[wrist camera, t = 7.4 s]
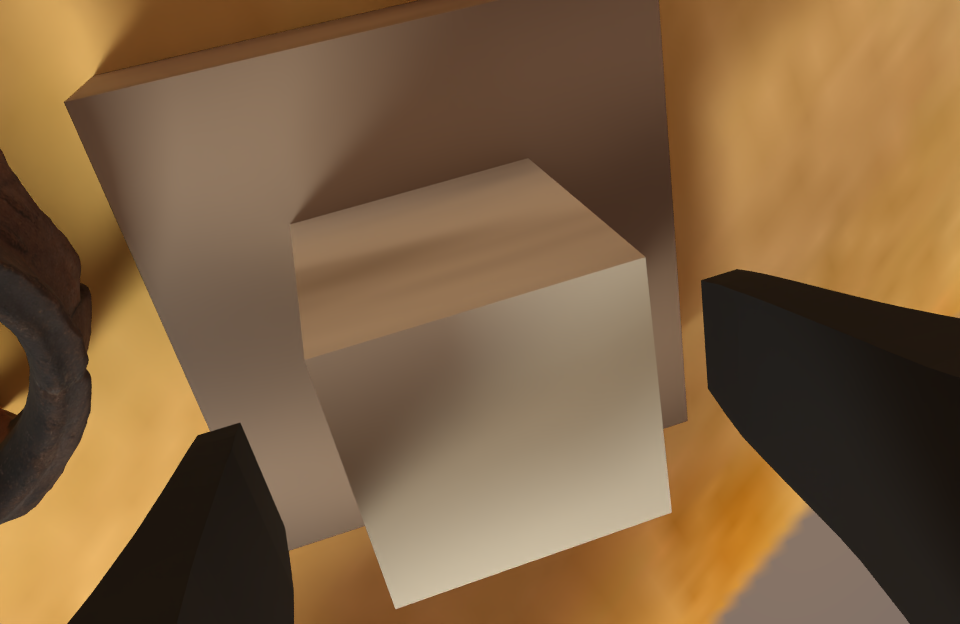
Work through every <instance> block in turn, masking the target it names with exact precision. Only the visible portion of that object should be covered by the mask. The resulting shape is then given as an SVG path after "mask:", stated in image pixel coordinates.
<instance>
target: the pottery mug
mask: <svg viewBox="0 0 960 624" xmlns="http://www.w3.org/2000/svg"><path fill="white" fill-rule="evenodd" d="M80 275H81V263H80V259H79V256H78V254H77V253H76V252H75V250H74V248H73V247H72V245H71V244H70V242H69V241H68V239H67V238H66V237H65V235H64V234H63V233H62V232H61V231H60V230H59V229H58V228H57V227H56V226H55V225H54V224H53V223H52V221H51V219H50V218H49V217H48V216H46V215H45V214H44V213H43V212H42V211H41V210H40V209H39V207H38V206H37V204H36V203H35V202H34V201H33V199H32V198H31V196H30V195H29V194H28V192H27V191H26V189H25V188H24V187H23V185H22V184H21V182H20V181H19V179H18V177H17V176H16V175H15V174H14V172H13V171H12V170H11V168H10V167H9V165H8V164H7V161H6V159H5V156H4V154H3V152H2V151H1V149H0V322H1V323H2V324H3V325H5V326H6V327H7V328H8V329H10V330H11V331H12V332H13V333H14V334H15V336H16V337H17V338H18V340H19V342H20V343H21V345H22V347H23V348H24V350H25V352H26V355H27V359H28V363H29V366H30V376H29V392H28V396H27V401H26V405H25V407H24V409H23V410H22V411H21V412H20V413H19V414H18V415H16V414H14V413H11V412H9V411H6V410H3V409H1V408H0V524H2V523H5V522H7V521H10V520H13V519H16V518H18V517H21V516H23V515H25V514H27V513H28V512H29V511H30V510H32V509H33V508H34V507H36V506H37V504H38V503H39V502H40V501H41V500H42V498H43V497H44V496H45V494H46V493H47V492H48V491H49V490H50V489H51V488H52V487H53V485H54V484H55V482H56V481H57V480H58V478H59V477H60V475H61V474H62V473H63V471H64V468H65V466H66V464H67V462H68V460H69V459H70V457H71V456H72V454H73V452H74V451H75V449H76V448H77V446H78V444H79V442H80V440H81V438H82V435H83V432H84V429H85V427H86V424H87V419H88V417H89V414H90V411H91V394H92V393H91V388H92V384H91V376H90V373H89V372H88V371H87V369H86V367H87V364H88V361H89V359H88V355H87V350H88V346H89V341H90V335H91V319H92V302H91V293H90V291H89V288H88V287H87V286H86V285H84V284H82V283H80Z"/></svg>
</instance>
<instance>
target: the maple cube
mask: <svg viewBox="0 0 960 624" xmlns="http://www.w3.org/2000/svg"><path fill="white" fill-rule="evenodd" d="M290 229H291V239H292V248H293V257H294V267H295V276H296V285H297V295H298V304H299V314H300V323H301V332H302V342H303V351H304V360H305V363H306V366H307V368H308V371H309V374H310V377H311V379H312V382H313V385H314V387H315V390H316V393H317V396H318V398H319V401H320V404H321V407H322V409H323V412H324V415H325V418H326V420H327V423H328V426H329V429H330V431H331V434H332V437H333V439H334V442H335V445H336V448H337V450H338V453H339V456H340V459H341V461H342V464H343V467H344V470H345V472H346V475H347V478H348V481H349V483H350V486H351V489H352V491H353V494H354V497H355V500H356V502H357V505H358V508H359V511H360V513H361V516H362V519H363V522H364V524H365V527H366V530H367V533H368V535H369V538H370V541H371V543H372V546H373V549H374V552H375V554H376V557H377V560H378V563H379V565H380V568H381V571H382V574H383V576H384V579H385V582H386V585H387V587H388V590H389V593H390V595H391V598H392V601H393V604H394V606H395V609H398V608H400V607H403V606H406V605H409V604H412V603H415V602H418V601H420V600H423V599H426V598H429V597H432V596H435V595H438V594H440V593H443V592H446V591H449V590H452V589H455V588H457V587H460V586H463V585H466V584H469V583H472V582H475V581H477V580H480V579H483V578H486V577H489V576H492V575H495V574H497V573H500V572H503V571H506V570H509V569H512V568H515V567H517V566H520V565H523V564H526V563H529V562H532V561H535V560H537V559H540V558H543V557H546V556H549V555H552V554H555V553H557V552H560V551H563V550H566V549H569V548H572V547H575V546H577V545H580V544H583V543H586V542H589V541H592V540H595V539H597V538H600V537H603V536H606V535H609V534H612V533H615V532H617V531H620V530H623V529H626V528H629V527H632V526H635V525H637V524H640V523H643V522H646V521H649V520H652V519H655V518H657V517H660V516H663V515H666V514H669V513H672V510H671V500H670V491H669V481H668V471H667V462H666V452H665V442H664V432H663V423H662V413H661V403H660V393H659V384H658V374H657V364H656V355H655V345H654V335H653V325H652V316H651V306H650V296H649V286H648V277H647V267H646V257H645V256H644V255H642V254H641V253H640V252H639V251H638V250H636V249H635V248H634V247H633V246H632V245H631V244H629V243H628V242H627V241H626V240H625V239H623V238H622V237H621V236H620V235H619V234H618V233H616V232H615V231H614V230H613V229H612V228H610V227H609V226H608V225H607V224H606V223H604V222H603V221H602V220H601V219H600V218H599V217H597V216H596V215H595V214H594V213H593V212H591V211H590V210H589V209H588V208H587V207H586V206H584V205H583V204H582V203H581V202H580V201H578V200H577V199H576V198H575V197H574V196H572V195H571V194H570V193H569V192H568V191H567V190H565V189H564V188H563V187H562V186H561V185H559V184H558V183H557V182H556V181H555V180H554V179H552V178H551V177H550V176H549V175H548V174H546V173H545V172H544V171H543V170H542V169H540V168H539V167H538V166H537V165H536V164H535V163H533V162H532V161H531V160H530V159H529V158H527V159H523V160H520V161H516V162H513V163H509V164H505V165H502V166H498V167H495V168H491V169H487V170H484V171H480V172H477V173H473V174H469V175H466V176H462V177H459V178H455V179H451V180H448V181H444V182H441V183H437V184H433V185H430V186H426V187H423V188H419V189H415V190H412V191H408V192H405V193H401V194H398V195H394V196H390V197H387V198H383V199H380V200H376V201H372V202H369V203H365V204H362V205H358V206H354V207H351V208H347V209H344V210H340V211H336V212H333V213H329V214H326V215H322V216H319V217H315V218H311V219H308V220H304V221H301V222H297V223H293V224H290Z"/></svg>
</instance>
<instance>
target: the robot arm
mask: <svg viewBox="0 0 960 624" xmlns="http://www.w3.org/2000/svg"><path fill="white" fill-rule="evenodd" d="M701 287H702V303H703V319H704V334H705V350H706V366H707V382H708V389H709V391H710V392H711V394H712V395H713V396H714V398H715V399H716V401H717V402H718V404H719V405H720V407H721V408H722V409H723V411H724V412H725V414H726V415H727V417H728V418H729V419H730V421H731V422H732V423H733V425H734V426H735V427H736V429H737V430H738V431H739V433H740V434H741V435H742V437H743V438H744V439H745V440H746V441H747V442H748V443H749V444H750V445H751V446H752V447H753V448H754V449H755V450H756V451H757V453H758V454H759V455H760V456H761V457H762V458H763V459H764V460H765V461H766V462H767V463H768V464H769V465H770V466H771V467H772V468H773V469H774V470H775V471H776V472H777V473H778V474H779V476H780V477H781V478H782V479H783V480H784V481H785V482H786V483H787V484H788V485H789V486H790V487H791V488H792V489H793V490H794V491H795V492H796V493H797V494H798V495H799V496H800V497H801V498H802V499H803V500H804V501H805V502H806V503H807V504H808V505H809V506H810V507H811V508H812V509H813V510H814V511H815V512H816V513H817V514H818V515H819V517H821V518H822V520H823V521H824V522H825V523H826V524H827V525H828V526H829V527H830V528H831V529H832V530H833V531H834V532H835V533H836V534H837V535H838V536H839V537H840V538H841V539H842V540H843V542H844V543H845V544H846V545H847V546H848V547H849V548H850V549H851V551H852V552H853V553H854V554H855V555H856V556H857V557H858V558H859V559H860V560H861V562H862V563H863V564H864V566H865V567H866V568H867V569H868V571H869V572H870V573H871V575H873V577H874V578H875V580H876V581H877V582H878V583H879V585H880V586H881V587H882V588H883V590H884V591H885V592H886V593H887V595H888V596H889V597H890V599H891V600H892V601H893V602H894V604H895V605H896V606H897V608H898V609H899V610H900V611H901V613H902V614H903V615H904V616H905V618H906V619H907V621H908V622H909V623H910V624H960V318H955V317H949V316H944V315H939V314H934V313H929V312H924V311H919V310H914V309H909V308H904V307H899V306H895V305H890V304H886V303H881V302H877V301H872V300H868V299H864V298H860V297H856V296H852V295H848V294H844V293H839V292H836V291H832V290H828V289H824V288H820V287H816V286H812V285H808V284H804V283H800V282H796V281H792V280H788V279H784V278H780V277H775V276H771V275H767V274H762V273H757V272H752V271H745V270H738V269H736V270H733V271H730V272H727V273H723V274H720V275H717V276H714V277H710V278H707V279H704V280H701ZM67 624H294V589H293V581H292V573H291V565H290V557H289V550H288V543H287V537H286V530H285V526H284V524H283V521H282V519H281V517H280V514H279V512H278V510H277V507H276V505H275V503H274V500H273V498H272V495H271V493H270V491H269V488H268V486H267V484H266V481H265V479H264V477H263V474H262V472H261V470H260V467H259V465H258V463H257V460H256V458H255V456H254V453H253V451H252V449H251V446H250V444H249V442H248V439H247V437H246V434H245V432H244V430H243V427H242V425H241V423H236V424H233V425H230V426H227V427H223V428H220V429H217V430H214V431H210V432H207V433H204V434H201V435H198V436H197V437H196V439H195V440H194V442H193V443H192V445H191V446H190V448H189V449H188V451H187V453H186V454H185V456H184V457H183V459H182V461H181V462H180V464H179V466H178V467H177V469H176V470H175V472H174V474H173V475H172V477H171V478H170V480H169V482H168V483H167V485H166V486H165V488H164V490H163V491H162V493H161V494H160V496H159V497H158V499H157V501H156V502H155V504H154V505H153V507H152V508H151V510H150V511H149V513H148V514H147V516H146V518H145V519H144V521H143V522H142V524H141V525H140V527H139V528H138V530H137V531H136V533H135V534H134V536H133V537H132V539H131V540H130V541H129V543H128V544H127V545H126V547H125V548H124V550H123V551H122V552H121V554H120V555H119V556H118V558H117V559H116V561H115V562H114V563H113V565H112V566H111V568H110V569H109V570H108V572H107V573H106V574H105V576H104V577H103V579H102V580H101V581H100V583H99V584H98V585H97V587H96V588H95V590H94V591H93V592H92V594H91V595H90V596H89V597H88V599H87V600H86V601H85V602H84V604H83V605H82V606H81V607H80V609H79V610H78V611H77V612H76V614H75V615H74V616H73V617H72V618H71V620H70V621H69V622H68V623H67Z"/></svg>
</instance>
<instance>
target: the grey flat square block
mask: <svg viewBox="0 0 960 624" xmlns="http://www.w3.org/2000/svg"><path fill="white" fill-rule="evenodd" d="M64 103H65V106H66V108H67V110H68V112H69V115H70V117H71V119H72V121H73V124H74V126H75V128H76V130H77V133H78V135H79V137H80V139H81V142H82V144H83V146H84V148H85V151H86V153H87V155H88V157H89V160H90V162H91V164H92V166H93V169H94V171H95V173H96V175H97V178H98V180H99V182H100V184H101V187H102V189H103V191H104V193H105V196H106V198H107V200H108V202H109V205H110V207H111V209H112V211H113V214H114V216H115V218H116V220H117V223H118V225H119V227H120V229H121V232H122V234H123V236H124V238H125V241H126V243H127V245H128V247H129V250H130V252H131V254H132V256H133V259H134V261H135V263H136V265H137V268H138V270H139V272H140V274H141V277H142V279H143V281H144V283H145V286H146V288H147V290H148V292H149V295H150V297H151V299H152V301H153V304H154V306H155V308H156V310H157V313H158V315H159V317H160V319H161V322H162V324H163V326H164V328H165V331H166V333H167V335H168V337H169V340H170V342H171V344H172V346H173V349H174V351H175V353H176V355H177V358H178V360H179V362H180V364H181V367H182V369H183V371H184V373H185V376H186V378H187V380H188V382H189V385H190V387H191V389H192V391H193V394H194V396H195V398H196V400H197V403H198V405H199V407H200V409H201V412H202V414H203V416H204V418H205V421H206V423H207V425H208V428H209V430H210V431H214V430H217V429H220V428H223V427H227V426H230V425H233V424H236V423H241V425H242V427H243V430H244V432H245V434H246V437H247V439H248V442H249V444H250V446H251V449H252V451H253V453H254V456H255V458H256V460H257V463H258V465H259V467H260V470H261V472H262V474H263V477H264V479H265V481H266V484H267V486H268V488H269V491H270V493H271V495H272V498H273V500H274V503H275V505H276V507H277V510H278V512H279V514H280V517H281V519H282V521H283V524H284V526H285V530H286V537H287V543H288V550H289V551H290V550H293V549H296V548H299V547H302V546H305V545H308V544H311V543H314V542H317V541H320V540H323V539H326V538H329V537H333V536H336V535H339V534H342V533H345V532H348V531H351V530H354V529H357V528H360V527H363V526H365V524H364V522H363V519H362V516H361V513H360V511H359V508H358V505H357V502H356V500H355V497H354V494H353V491H352V489H351V486H350V483H349V481H348V478H347V475H346V472H345V470H344V467H343V464H342V461H341V459H340V456H339V453H338V450H337V448H336V445H335V442H334V439H333V437H332V434H331V431H330V429H329V426H328V423H327V420H326V418H325V415H324V412H323V409H322V407H321V404H320V401H319V398H318V396H317V393H316V390H315V387H314V385H313V382H312V379H311V377H310V374H309V371H308V368H307V366H306V363H305V360H304V351H303V342H302V332H301V323H300V314H299V304H298V295H297V285H296V276H295V267H294V257H293V248H292V239H291V229H290V224H293V223H297V222H301V221H304V220H308V219H311V218H315V217H319V216H322V215H326V214H329V213H333V212H336V211H340V210H344V209H347V208H351V207H354V206H358V205H362V204H365V203H369V202H372V201H376V200H380V199H383V198H387V197H390V196H394V195H398V194H401V193H405V192H408V191H412V190H415V189H419V188H423V187H426V186H430V185H433V184H437V183H441V182H444V181H448V180H451V179H455V178H459V177H462V176H466V175H469V174H473V173H477V172H480V171H484V170H487V169H491V168H495V167H498V166H502V165H505V164H509V163H513V162H516V161H520V160H523V159H527V158H529V159H530V160H531V161H532V162H533V163H535V164H536V165H537V166H538V167H539V168H540V169H542V170H543V171H544V172H545V173H546V174H548V175H549V176H550V177H551V178H552V179H554V180H555V181H556V182H557V183H558V184H559V185H561V186H562V187H563V188H564V189H565V190H567V191H568V192H569V193H570V194H571V195H572V196H574V197H575V198H576V199H577V200H578V201H580V202H581V203H582V204H583V205H584V206H586V207H587V208H588V209H589V210H590V211H591V212H593V213H594V214H595V215H596V216H597V217H599V218H600V219H601V220H602V221H603V222H604V223H606V224H607V225H608V226H609V227H610V228H612V229H613V230H614V231H615V232H616V233H618V234H619V235H620V236H621V237H622V238H623V239H625V240H626V241H627V242H628V243H629V244H631V245H632V246H633V247H634V248H635V249H636V250H638V251H639V252H640V253H641V254H642V255H644V256H645V257H646V267H647V277H648V286H649V296H650V306H651V316H652V325H653V335H654V345H655V355H656V364H657V374H658V384H659V393H660V403H661V413H662V423H663V429H664V428H667V427H670V426H673V425H676V424H680V423H683V422H686V421H688V420H687V405H686V391H685V376H684V361H683V347H682V332H681V318H680V303H679V288H678V274H677V259H676V245H675V230H674V215H673V201H672V186H671V172H670V157H669V142H668V128H667V113H666V99H665V84H664V69H663V55H662V40H661V26H660V11H659V0H418V1H413V2H409V3H405V4H401V5H396V6H392V7H388V8H383V9H379V10H375V11H370V12H366V13H362V14H357V15H353V16H349V17H344V18H340V19H336V20H332V21H327V22H323V23H319V24H314V25H310V26H306V27H301V28H297V29H293V30H288V31H284V32H280V33H275V34H271V35H267V36H262V37H258V38H254V39H250V40H245V41H241V42H237V43H232V44H228V45H224V46H219V47H215V48H211V49H206V50H202V51H198V52H193V53H189V54H185V55H181V56H176V57H172V58H168V59H163V60H159V61H155V62H150V63H146V64H142V65H137V66H133V67H129V68H124V69H120V70H116V71H112V72H107V73H103V74H99V75H94V76H93V77H92V78H90V79H89V80H88V81H87V82H86V83H85V84H84V85H83V86H82V87H80V88H79V89H78V90H77V91H76V92H75V93H74V94H73V95H72V96H70V97H69V98H68V99H67V100H66V101H65V102H64Z"/></svg>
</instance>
